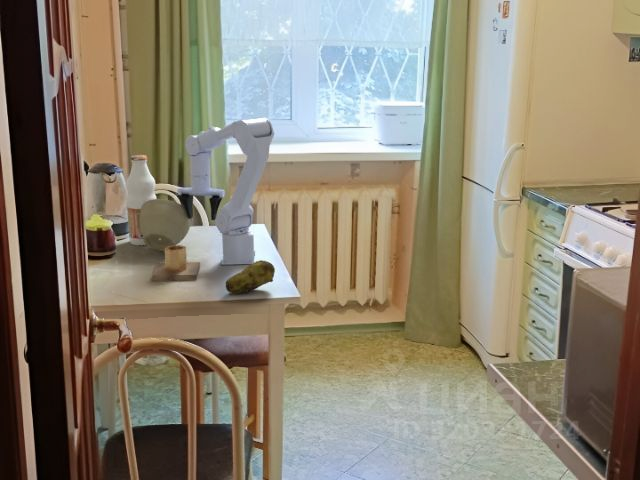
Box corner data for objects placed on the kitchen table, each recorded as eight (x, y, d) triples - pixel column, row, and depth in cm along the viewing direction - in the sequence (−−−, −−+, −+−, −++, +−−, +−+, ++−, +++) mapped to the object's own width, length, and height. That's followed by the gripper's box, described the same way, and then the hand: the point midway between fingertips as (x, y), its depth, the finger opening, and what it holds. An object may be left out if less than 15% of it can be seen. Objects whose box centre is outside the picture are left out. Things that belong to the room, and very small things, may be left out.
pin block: (200, 266, 227) (199, 246, 225) (196, 279, 215) (195, 258, 214) (158, 268, 226) (156, 247, 225) (152, 280, 215) (150, 259, 213)
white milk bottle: (123, 243, 252) (117, 157, 244) (142, 237, 260) (137, 153, 252) (146, 247, 247) (140, 159, 240) (165, 240, 255) (160, 155, 248)
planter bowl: (183, 231, 232) (190, 202, 238) (129, 225, 232) (137, 196, 238) (187, 260, 245) (194, 232, 251) (136, 254, 245) (144, 226, 251)
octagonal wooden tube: (187, 265, 223) (186, 245, 222) (185, 271, 218) (184, 250, 216) (167, 265, 223) (166, 245, 221) (165, 271, 217) (163, 251, 216)
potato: (226, 287, 209) (225, 258, 207) (274, 285, 210) (274, 256, 208) (225, 297, 201) (224, 267, 199) (275, 295, 202) (275, 265, 200)
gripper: (172, 176, 234) (174, 220, 238) (218, 178, 231) (219, 223, 234) (182, 171, 241) (184, 215, 244) (226, 174, 237) (228, 217, 241)
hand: (202, 218), depth 240 cm, fingers open, 7 cm apart
